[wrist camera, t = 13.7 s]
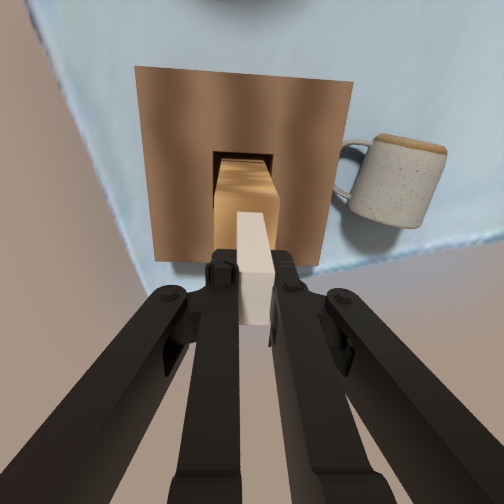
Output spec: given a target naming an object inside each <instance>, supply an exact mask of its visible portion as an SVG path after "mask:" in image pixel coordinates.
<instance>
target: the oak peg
mask: <svg viewBox="0 0 504 504" xmlns="http://www.w3.org/2000/svg"><path fill="white" fill-rule="evenodd" d="M279 207H280V198H279V196H278V193H277V191H276V189H275V186H274V184H273V181H272V179H271V177H270V174H269V172H268V170H267V167H266V165H265V162H264V160H263V158H262V155H259V154H240V153H223V156H222V160H221V166H220V171H219V176H218V181H217V186H216V191H215V196H214V251H215V250H216V249H236V229H237V212H255V213H263V217H264V222H265V227H266V232H267V236H268V241H269V246H270V250H275V244H276V235H277V225H278V216H279Z"/></svg>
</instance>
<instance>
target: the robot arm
mask: <svg viewBox="0 0 504 504" xmlns="http://www.w3.org/2000/svg"><path fill="white" fill-rule="evenodd" d="M205 276H206V285H205V287H203V288H202V289H200V290H197V291H194V292H189V293H187V292H186V290H185V289H184V288H183V287H181V286H178V285H166V286H162V287H160V288H157V289H156V290H155V291H154V292H153V293H152V294H151V295H150V296H149V297H148V299H147V300H146V301H145V302H144V303H143V305H142V306H141V307H140V308H139V309H138V311H137V312H136V313H135V314H134V315H133V317H132V318H131V319H130V320H129V321H128V322H127V324H126V325H125V326H124V327H123V328H122V330H121V331H120V332H119V333H118V334H117V336H116V337H115V338H114V339H113V340H112V342H111V343H110V344H109V345H108V346H107V348H106V349H105V350H104V351H103V352H102V353H101V355H100V356H99V357H98V358H97V359H96V361H95V362H94V363H93V364H92V365H91V367H90V368H89V369H88V370H87V371H86V373H85V374H84V375H83V376H82V377H81V379H80V380H79V381H78V382H77V383H76V385H75V386H74V387H73V388H72V389H71V390H70V392H69V393H68V394H67V396H65V398H64V399H63V400H62V401H61V403H60V404H59V405H58V406H57V407H56V409H55V410H54V411H53V412H52V413H51V415H50V416H49V417H48V418H47V419H46V420H45V422H44V423H43V424H42V425H41V426H40V428H39V429H38V430H37V431H36V432H35V433H34V435H33V436H32V437H31V438H30V440H29V441H28V442H27V443H26V444H25V446H24V447H23V448H22V449H21V450H20V451H19V453H18V454H17V455H16V456H15V458H14V459H13V460H12V461H11V462H10V463H9V464H8V466H7V467H6V468H5V469H4V470H3V472H2V473H1V474H0V504H109V503H110V501H111V499H112V497H113V495H114V493H115V491H116V489H117V487H118V485H119V483H120V481H121V479H122V477H123V475H124V474H125V472H126V470H127V468H128V466H129V464H130V462H131V460H132V458H133V456H134V454H135V452H136V450H137V448H138V446H139V444H140V442H141V440H142V438H143V436H144V434H145V432H146V430H147V428H148V427H149V424H150V423H151V421H152V419H153V417H154V415H155V412H156V411H157V409H158V407H159V405H160V403H161V401H162V399H163V397H164V395H165V393H166V391H167V389H168V387H169V385H170V383H171V382H172V380H173V378H174V376H175V374H176V371H177V370H178V368H179V366H180V364H181V362H182V360H183V358H184V356H185V354H186V352H187V350H188V348H189V344H190V343H193V342H197V343H196V349H195V356H194V362H193V369H192V375H191V381H190V387H189V395H188V400H187V407H186V413H185V419H184V426H183V433H182V439H181V445H180V452H179V458H178V464H177V469H176V474H175V476H174V477H173V478H172V482H171V485H170V489H169V495H168V500H167V504H242V479H241V473H240V472H241V471H240V403H239V402H240V400H239V398H240V397H239V325H269V321H271V329H270V337H269V345H268V347H271V346H272V353H273V361H274V369H275V377H276V384H277V392H278V399H279V407H280V415H281V422H282V430H283V438H284V446H285V453H286V461H287V469H288V476H289V484H290V491H291V499H292V504H397V502H396V500H395V497H394V495H393V492H392V490H391V488H390V486H389V484H388V482H387V480H386V479H385V478H384V477H383V475H382V474H380V473H378V472H376V471H374V470H373V469H372V467H371V465H370V463H369V461H368V458H367V455H366V452H365V449H364V447H363V444H362V441H361V438H360V435H359V432H358V429H357V427H356V424H355V421H354V418H353V415H352V412H351V409H350V407H349V404H348V401H347V398H346V395H347V397H348V399H349V400H350V402H351V403H352V405H353V407H354V408H355V410H356V412H357V413H358V415H359V416H360V418H361V419H362V421H363V423H364V425H365V426H366V428H367V429H368V431H369V433H370V434H371V436H372V437H373V439H374V441H375V442H376V444H377V445H378V447H379V449H380V450H381V452H382V454H383V455H384V457H385V458H386V460H387V462H388V463H389V465H390V466H391V468H392V470H393V471H394V473H395V475H396V476H397V477H398V479H399V481H400V483H401V484H402V486H403V487H404V489H405V491H406V492H407V494H408V495H409V497H410V498H411V500H412V502H413V504H504V446H503V445H502V444H501V443H500V442H499V441H498V440H497V439H496V438H495V437H494V436H493V435H492V434H491V433H490V432H489V431H488V430H487V429H486V428H485V427H484V426H483V424H481V422H480V421H478V420H477V418H476V417H475V416H474V415H473V414H472V413H471V412H470V411H469V410H468V409H467V408H466V407H465V406H464V405H463V404H462V403H461V402H460V401H459V400H458V399H457V398H456V397H455V396H454V395H453V394H452V392H451V391H450V390H449V389H447V387H446V386H445V385H444V384H443V383H442V382H441V381H440V380H439V379H438V378H437V377H436V376H435V375H434V374H433V373H432V372H431V371H430V370H429V369H428V368H427V367H426V366H425V365H424V363H422V361H420V359H419V358H417V356H416V355H415V354H414V353H413V352H412V351H411V350H410V349H409V348H408V347H407V346H406V345H405V344H404V343H403V342H402V341H401V340H400V339H399V338H398V337H397V336H396V335H395V334H394V333H393V331H392V330H391V329H390V328H389V327H388V326H387V325H386V324H385V323H384V322H383V321H382V320H381V319H380V318H379V317H378V316H377V315H376V314H375V313H374V312H373V311H372V310H371V309H370V308H369V307H368V306H367V305H366V304H365V302H364V301H362V299H361V298H360V297H359V296H358V295H356V294H355V293H354V292H352V291H349V290H347V289H343V288H334V289H331V290H329V291H328V292H327V296H324V295H320V294H316V293H313V292H310V291H309V290H308V287H307V286H306V284H305V283H304V282H302V281H301V280H300V279H299V276H298V273H297V270H296V267H295V264H294V262H293V258H292V255H291V254H290V253H288V252H287V251H286V250H270V246H269V241H268V236H267V232H266V227H265V222H264V217H263V213H255V212H237V229H236V249H216V250H215V251H214V252H213V253H212V258H211V262H209V263H208V264H207V265H206V267H205ZM345 394H346V395H345Z"/></svg>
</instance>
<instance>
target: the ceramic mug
mask: <svg viewBox="0 0 504 504" xmlns="http://www.w3.org/2000/svg"><path fill="white" fill-rule="evenodd" d="M350 145H364V146H367V147H368V151H367V153H366V155H365V158H364V161H363V163H362V165H361V169H360V172H359V174H358V176H357V179H356V181H355V184H354V186H353V189H352V191H351V193H346V192H344V191H342V190H341V189H339V188H338V187H337V186H336V185H335V184H334V187H333V191H335V192H336V193H337V194H339V195H340V196H342V197H344V198H347V199H348V202H347V207H348V208H349V210H351V211H352V212H354V213H355V214H357V215H359V216H362V217H364V218H366V219H369V220H372V221H375V222H378V223H381V224H385V225H388V226H393V227H397V228H406V229H416V228H418V227H420V226H421V224H422V222H423V219H424V216H425V214H426V211H427V209H428V207H429V204H430V202H431V199H432V197H433V194H434V192H435V189H436V186H437V184H438V182H439V180H440V177H441V175H442V173H443V170H444V167H445V163H446V159H447V150H446V148H445V147H444V146H441V145H437V144H432V143H428V142H423V141H418V140H413V139H408V138H403V137H398V136H393V135H388V134H380V135H378V136H377V137H375V138H374V140H373V141H371V142H368V141H364V140H352V141H347V142H344V143H342V145H341V150H342V149H343V148H344V147H347V146H350ZM341 150H340V152H341Z"/></svg>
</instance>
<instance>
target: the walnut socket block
mask: <svg viewBox="0 0 504 504" xmlns="http://www.w3.org/2000/svg"><path fill="white" fill-rule="evenodd" d="M134 68H135V77H136V87H137V96H138V106H139V115H140V124H141V134H142V143H143V152H144V162H145V171H146V181H147V190H148V199H149V209H150V218H151V228H152V237H153V246H154V256H155V261H162V262H199V263H209V262H211V258H212V253H213V252H214V196H215V191H216V186H217V181H218V176H219V171H220V166H221V160H222V156H223V153H240V154H259V155H262V158H263V160H264V162H265V165H266V167H267V170H268V172H269V174H270V177H271V179H272V181H273V184H274V186H275V189H276V191H277V193H278V196H279V198H280V207H279V216H278V225H277V235H276V244H275V250H286V251H287V252H288V253H290V254H291V255H292V258H293V262H294V264H295V265H309V266H318V265H319V259H320V254H321V249H322V244H323V239H324V233H325V228H326V223H327V218H328V213H329V207H330V202H331V197H332V192H333V187H334V182H335V176H336V171H337V166H338V161H339V156H340V150H341V145H342V140H343V135H344V130H345V125H346V119H347V114H348V109H349V104H350V99H351V93H352V88H353V83H354V82H347V81H334V80H320V79H306V78H293V77H279V76H266V75H252V74H239V73H225V72H212V71H198V70H185V69H171V68H158V67H144V66H134Z"/></svg>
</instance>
